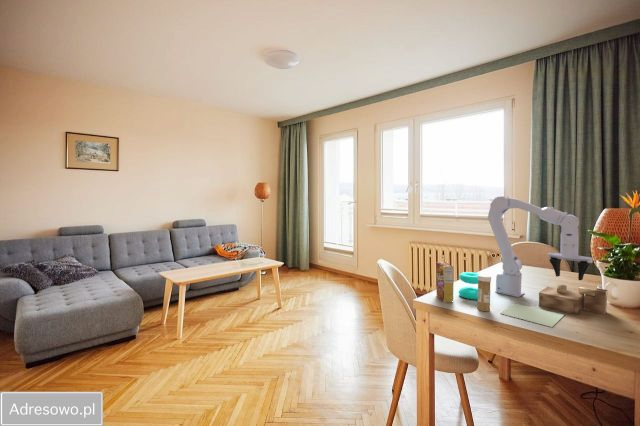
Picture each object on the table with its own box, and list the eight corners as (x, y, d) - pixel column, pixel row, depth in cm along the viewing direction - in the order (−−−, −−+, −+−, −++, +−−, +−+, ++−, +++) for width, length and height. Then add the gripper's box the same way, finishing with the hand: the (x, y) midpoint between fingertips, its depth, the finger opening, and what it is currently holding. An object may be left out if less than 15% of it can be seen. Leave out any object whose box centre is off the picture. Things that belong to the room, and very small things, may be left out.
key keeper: (583, 309, 121) (584, 288, 120) (585, 307, 123) (586, 286, 123) (604, 314, 116) (605, 291, 116) (606, 311, 119) (607, 289, 118)
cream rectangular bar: (578, 292, 123) (578, 287, 122) (579, 291, 124) (579, 286, 124) (605, 298, 117) (606, 292, 116) (606, 296, 118) (607, 291, 118)
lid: (538, 295, 124) (539, 284, 124) (547, 289, 132) (547, 279, 132) (577, 303, 115) (577, 292, 115) (584, 296, 123) (584, 285, 123)
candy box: (435, 295, 138) (436, 261, 137) (445, 295, 138) (445, 261, 137) (443, 302, 129) (443, 266, 128) (453, 302, 129) (454, 266, 128)
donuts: (471, 278, 130) (454, 272, 139) (471, 301, 131) (453, 294, 140) (490, 275, 133) (471, 270, 143) (489, 298, 134) (470, 292, 143)
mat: (500, 313, 117) (500, 313, 117) (515, 304, 127) (515, 303, 127) (552, 327, 105) (552, 326, 105) (564, 315, 115) (564, 314, 115)
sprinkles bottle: (490, 312, 119) (491, 277, 118) (476, 310, 121) (477, 275, 120) (490, 308, 123) (491, 274, 122) (477, 306, 125) (478, 273, 124)
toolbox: (538, 306, 125) (539, 295, 124) (547, 299, 133) (547, 289, 132) (577, 315, 116) (577, 303, 115) (584, 307, 123) (584, 296, 123)
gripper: (595, 245, 123) (595, 279, 123) (552, 241, 135) (552, 273, 136) (589, 247, 119) (588, 282, 120) (545, 243, 131) (545, 275, 132)
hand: (568, 277), depth 127 cm, fingers open, 7 cm apart
